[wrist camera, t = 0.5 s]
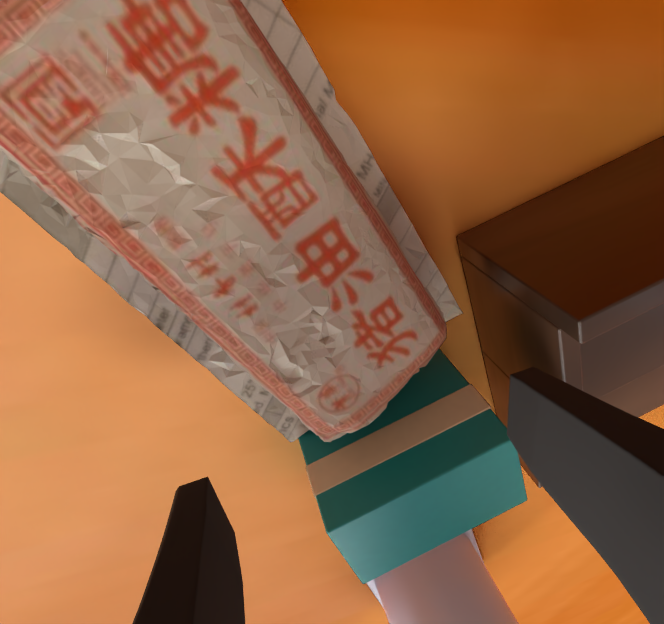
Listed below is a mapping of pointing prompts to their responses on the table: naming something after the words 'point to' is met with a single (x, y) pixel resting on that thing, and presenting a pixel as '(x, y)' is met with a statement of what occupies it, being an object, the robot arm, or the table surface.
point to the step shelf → (577, 286)
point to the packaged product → (221, 198)
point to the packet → (414, 472)
